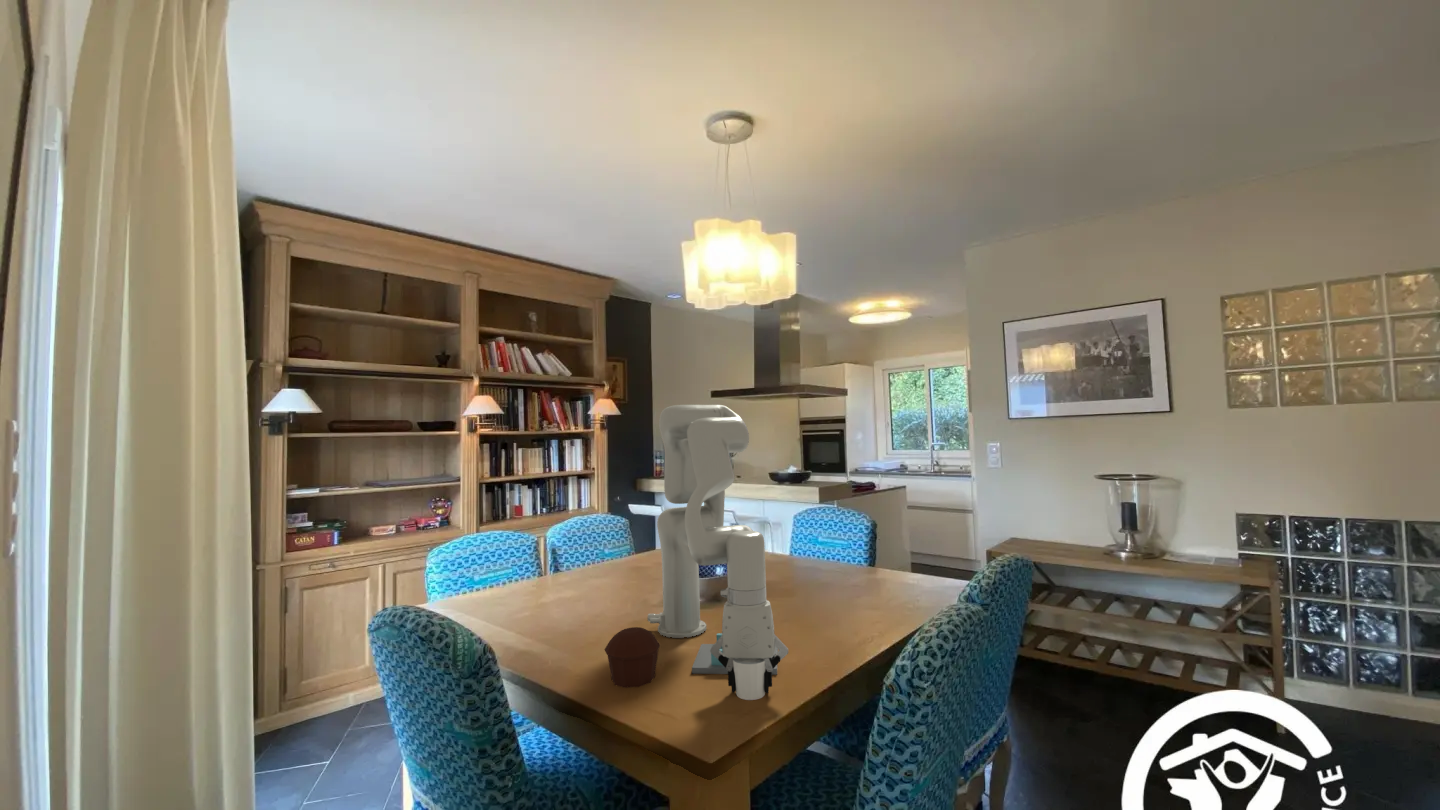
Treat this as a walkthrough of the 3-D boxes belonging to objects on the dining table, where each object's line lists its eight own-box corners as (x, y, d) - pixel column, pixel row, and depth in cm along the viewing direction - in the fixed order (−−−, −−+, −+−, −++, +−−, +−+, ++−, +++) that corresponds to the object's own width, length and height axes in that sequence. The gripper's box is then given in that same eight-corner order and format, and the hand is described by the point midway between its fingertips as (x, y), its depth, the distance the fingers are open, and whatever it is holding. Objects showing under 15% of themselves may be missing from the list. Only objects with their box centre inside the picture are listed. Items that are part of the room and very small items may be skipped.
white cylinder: (769, 701, 109) (768, 663, 109) (733, 702, 109) (731, 664, 109) (767, 685, 116) (765, 649, 116) (732, 686, 116) (731, 650, 116)
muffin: (630, 664, 129) (629, 618, 129) (671, 673, 123) (669, 625, 124) (593, 684, 119) (592, 635, 119) (636, 695, 113) (634, 643, 114)
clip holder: (692, 673, 123) (691, 653, 123) (701, 649, 137) (701, 631, 137) (777, 674, 121) (776, 654, 121) (778, 649, 135) (777, 631, 135)
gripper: (701, 601, 111) (703, 697, 110) (791, 601, 109) (795, 699, 108) (706, 590, 118) (709, 681, 117) (791, 590, 116) (794, 682, 115)
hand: (750, 688), depth 112 cm, fingers closed on white cylinder, 5 cm apart
